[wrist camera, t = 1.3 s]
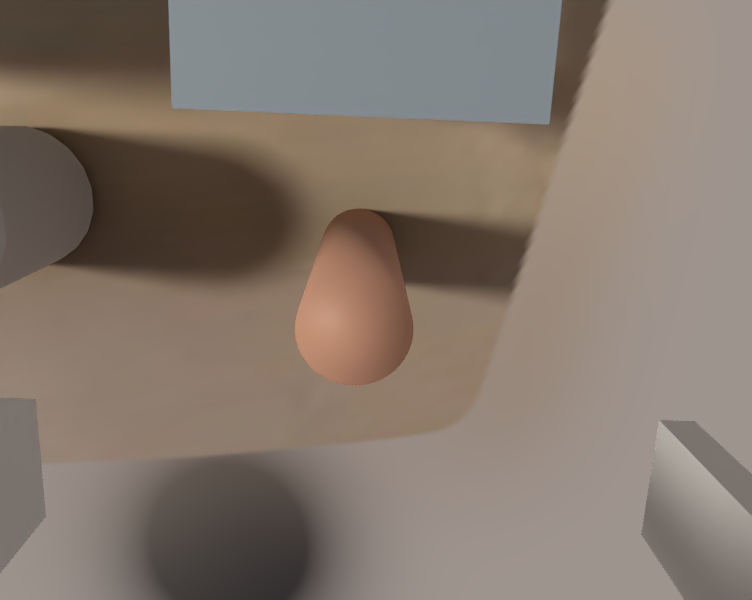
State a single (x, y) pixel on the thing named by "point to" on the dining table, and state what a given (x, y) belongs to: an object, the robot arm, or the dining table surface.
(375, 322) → the peg
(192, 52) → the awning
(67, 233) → the can
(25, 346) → the dining table surface
